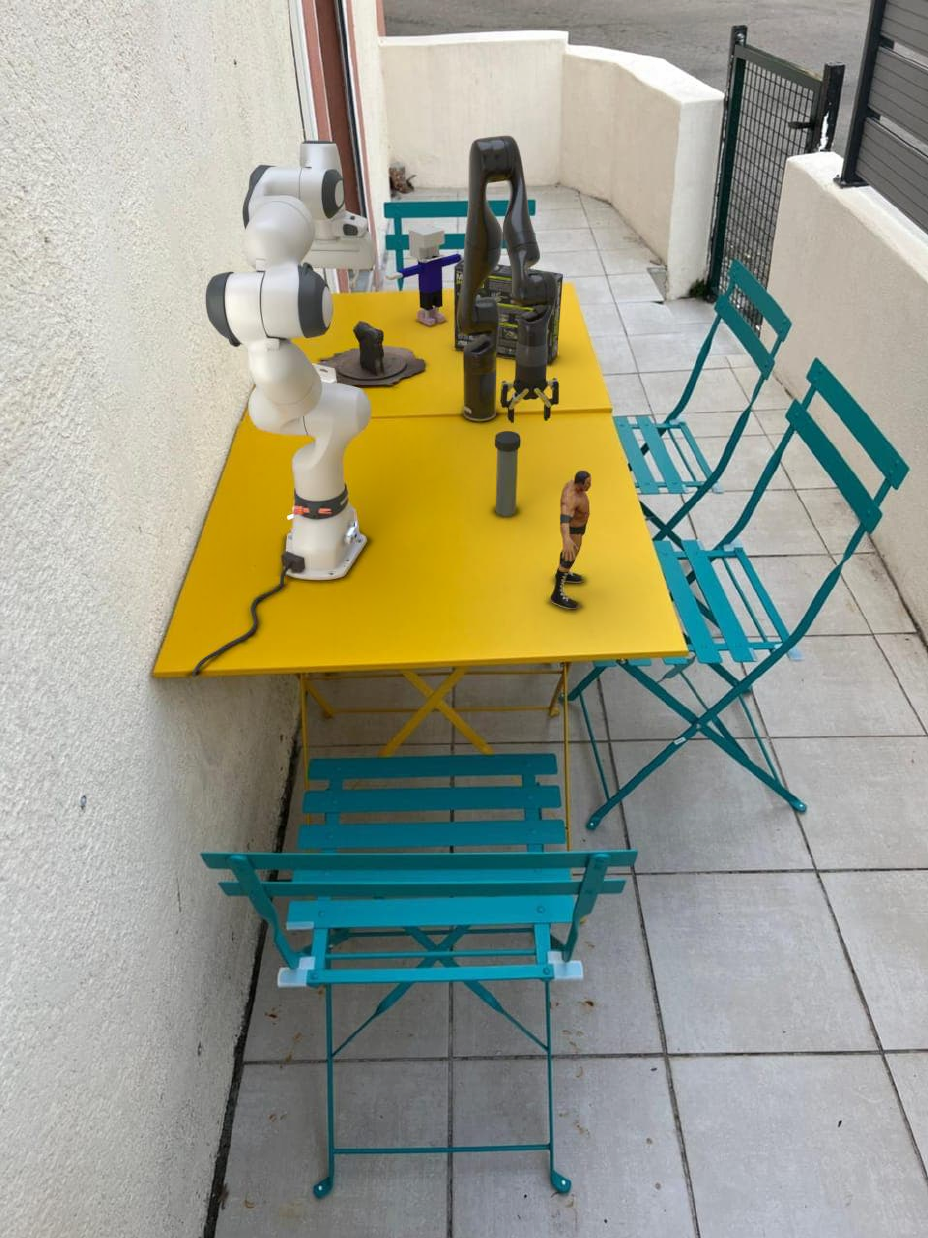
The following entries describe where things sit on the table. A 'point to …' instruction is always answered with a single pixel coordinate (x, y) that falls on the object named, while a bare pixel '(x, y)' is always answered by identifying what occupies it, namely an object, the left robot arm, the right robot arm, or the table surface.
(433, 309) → the toy
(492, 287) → the box
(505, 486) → the jar
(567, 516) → the figurine
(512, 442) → the lid
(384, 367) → the sculpture
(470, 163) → the right robot arm
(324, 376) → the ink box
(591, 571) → the table surface
